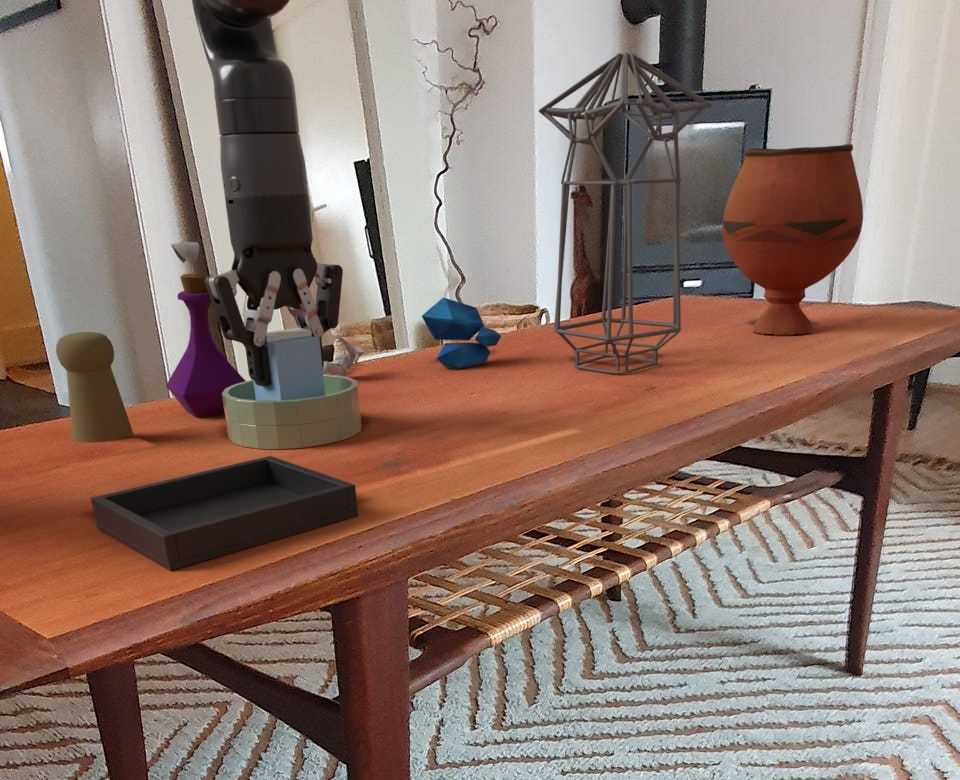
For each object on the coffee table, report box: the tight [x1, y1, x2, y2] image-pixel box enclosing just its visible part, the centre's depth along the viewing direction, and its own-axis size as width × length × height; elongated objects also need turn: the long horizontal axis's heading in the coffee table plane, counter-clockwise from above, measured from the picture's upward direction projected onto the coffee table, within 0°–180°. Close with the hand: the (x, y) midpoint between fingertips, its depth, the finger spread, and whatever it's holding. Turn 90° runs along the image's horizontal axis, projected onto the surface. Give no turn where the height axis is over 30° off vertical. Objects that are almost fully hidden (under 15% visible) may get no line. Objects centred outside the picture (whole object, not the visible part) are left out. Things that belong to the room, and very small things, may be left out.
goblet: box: [721, 143, 864, 336], centre depth 140 cm, size 19×19×25 cm
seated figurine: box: [323, 335, 366, 377], centre depth 122 cm, size 8×5×12 cm
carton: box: [253, 327, 325, 401], centre depth 95 cm, size 5×5×9 cm
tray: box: [90, 455, 359, 572], centre depth 74 cm, size 16×13×2 cm
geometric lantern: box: [538, 52, 713, 375], centre depth 118 cm, size 16×16×35 cm
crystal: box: [421, 297, 502, 370], centre depth 128 cm, size 7×9×12 cm
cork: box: [55, 331, 135, 444], centre depth 95 cm, size 6×6×11 cm
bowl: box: [222, 374, 362, 450], centre depth 97 cm, size 13×13×5 cm
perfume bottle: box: [165, 241, 246, 419], centre depth 104 cm, size 8×8×18 cm
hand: (288, 379), depth 95 cm, fingers closed on carton, 5 cm apart
